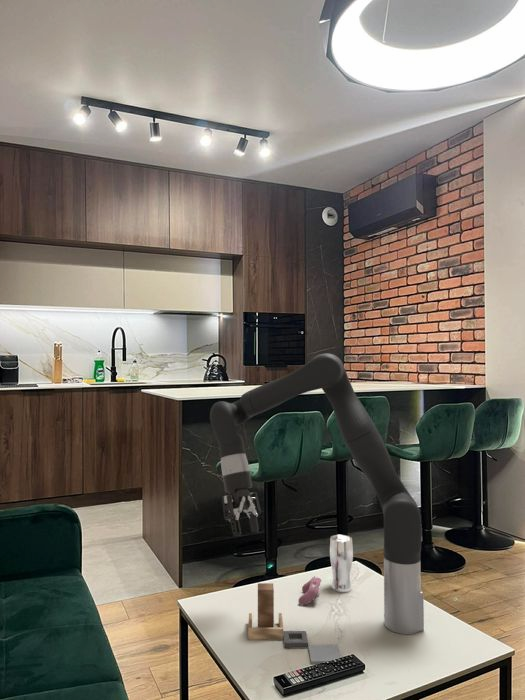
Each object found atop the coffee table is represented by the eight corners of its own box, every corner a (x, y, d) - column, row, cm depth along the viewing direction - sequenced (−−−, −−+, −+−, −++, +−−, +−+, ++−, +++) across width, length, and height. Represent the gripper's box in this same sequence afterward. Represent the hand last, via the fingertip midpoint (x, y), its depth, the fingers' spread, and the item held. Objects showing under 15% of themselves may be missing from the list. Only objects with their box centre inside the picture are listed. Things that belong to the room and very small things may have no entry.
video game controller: (311, 612, 144) (322, 590, 143) (296, 603, 145) (307, 581, 144) (314, 597, 153) (325, 576, 153) (301, 589, 154) (311, 568, 154)
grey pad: (337, 647, 123) (337, 644, 123) (342, 663, 116) (342, 661, 116) (308, 647, 123) (308, 644, 123) (311, 664, 116) (311, 661, 116)
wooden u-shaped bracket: (281, 622, 134) (281, 613, 135) (283, 639, 126) (283, 628, 126) (248, 623, 134) (248, 613, 134) (248, 639, 126) (248, 629, 126)
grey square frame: (305, 635, 128) (305, 630, 128) (308, 647, 122) (308, 642, 122) (283, 635, 128) (283, 631, 128) (284, 648, 122) (284, 642, 122)
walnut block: (273, 626, 133) (273, 583, 133) (273, 634, 129) (273, 589, 129) (257, 626, 132) (257, 583, 133) (257, 634, 128) (257, 590, 129)
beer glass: (356, 586, 157) (356, 537, 157) (347, 595, 151) (347, 543, 152) (335, 581, 161) (335, 533, 161) (326, 589, 155) (325, 539, 155)
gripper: (232, 470, 134) (243, 535, 129) (260, 469, 146) (272, 528, 141) (209, 476, 137) (219, 539, 132) (239, 474, 149) (249, 532, 144)
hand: (246, 533), depth 137 cm, fingers open, 8 cm apart
